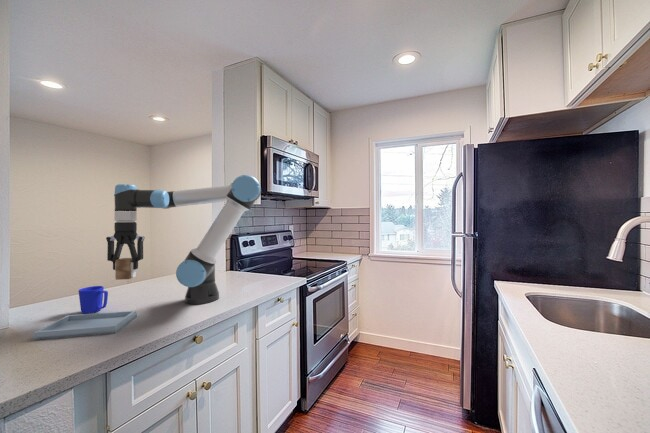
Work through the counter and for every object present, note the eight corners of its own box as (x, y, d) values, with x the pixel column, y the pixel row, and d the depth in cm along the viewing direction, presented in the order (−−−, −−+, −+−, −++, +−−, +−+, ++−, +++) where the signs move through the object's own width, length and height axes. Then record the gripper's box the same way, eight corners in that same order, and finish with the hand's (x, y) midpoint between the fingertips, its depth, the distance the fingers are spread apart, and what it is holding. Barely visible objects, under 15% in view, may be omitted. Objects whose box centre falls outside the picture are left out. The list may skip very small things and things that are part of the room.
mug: (97, 316, 113) (96, 291, 113) (73, 314, 116) (73, 290, 116) (116, 309, 121) (115, 286, 121) (93, 307, 124) (93, 285, 124)
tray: (136, 316, 113) (136, 310, 113) (115, 333, 97) (115, 326, 97) (67, 321, 108) (67, 315, 108) (33, 340, 92) (33, 332, 92)
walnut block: (135, 276, 119) (135, 257, 119) (129, 279, 114) (129, 259, 114) (122, 276, 118) (122, 258, 118) (115, 279, 113) (115, 260, 113)
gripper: (153, 221, 121) (153, 274, 121) (106, 221, 118) (106, 276, 118) (145, 222, 114) (145, 278, 114) (95, 221, 111) (95, 280, 111)
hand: (125, 277), depth 116 cm, fingers closed on walnut block, 5 cm apart
